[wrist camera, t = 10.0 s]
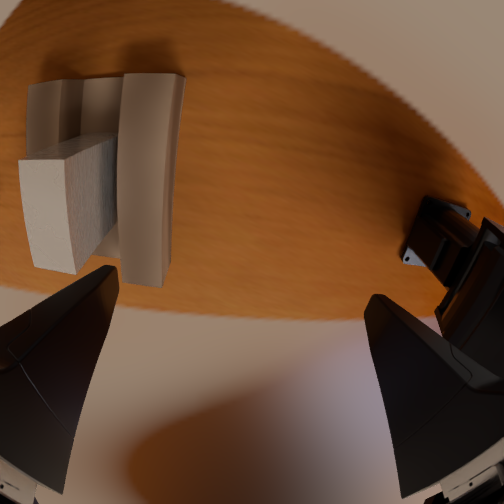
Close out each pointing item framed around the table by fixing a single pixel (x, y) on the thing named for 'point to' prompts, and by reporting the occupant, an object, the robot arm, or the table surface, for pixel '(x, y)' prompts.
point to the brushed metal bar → (69, 199)
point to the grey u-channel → (122, 156)
